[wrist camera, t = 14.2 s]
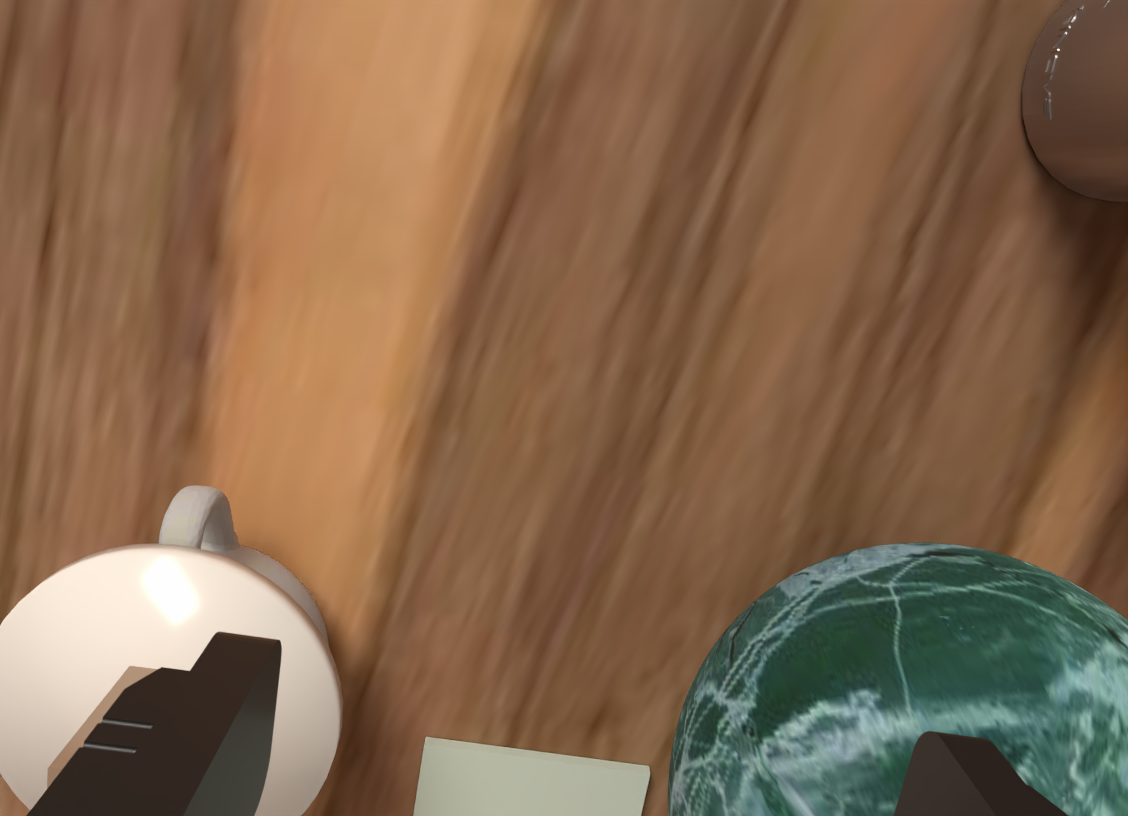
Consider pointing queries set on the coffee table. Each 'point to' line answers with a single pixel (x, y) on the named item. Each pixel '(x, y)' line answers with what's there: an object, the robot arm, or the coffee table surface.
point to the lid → (156, 660)
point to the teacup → (227, 541)
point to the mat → (524, 783)
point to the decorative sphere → (905, 686)
